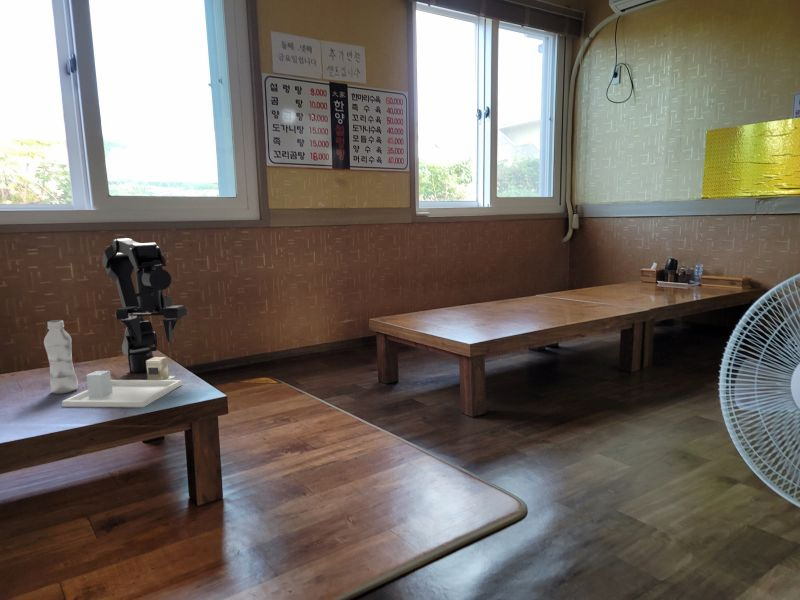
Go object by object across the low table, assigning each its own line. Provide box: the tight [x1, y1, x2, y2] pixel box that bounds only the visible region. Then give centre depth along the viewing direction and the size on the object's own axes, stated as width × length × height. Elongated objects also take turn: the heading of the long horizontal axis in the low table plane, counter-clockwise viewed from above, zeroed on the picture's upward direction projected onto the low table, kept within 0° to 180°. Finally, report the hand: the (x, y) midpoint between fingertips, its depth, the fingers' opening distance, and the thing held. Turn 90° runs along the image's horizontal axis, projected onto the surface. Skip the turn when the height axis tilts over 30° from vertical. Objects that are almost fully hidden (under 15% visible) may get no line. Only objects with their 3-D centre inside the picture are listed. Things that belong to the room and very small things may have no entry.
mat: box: [146, 375, 176, 380], centre depth 159 cm, size 7×6×1 cm
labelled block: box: [146, 356, 170, 380], centre depth 159 cm, size 4×4×6 cm
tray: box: [61, 379, 183, 408], centre depth 145 cm, size 22×18×2 cm
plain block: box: [85, 370, 113, 397], centre depth 146 cm, size 4×4×6 cm
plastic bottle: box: [43, 319, 79, 395], centre depth 150 cm, size 6×7×20 cm
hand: (154, 342), depth 157 cm, fingers open, 9 cm apart
